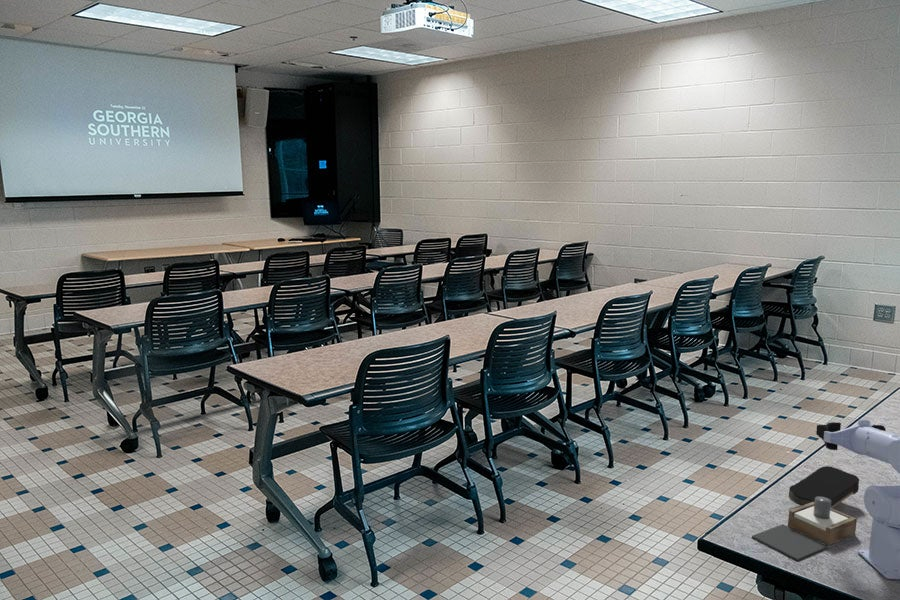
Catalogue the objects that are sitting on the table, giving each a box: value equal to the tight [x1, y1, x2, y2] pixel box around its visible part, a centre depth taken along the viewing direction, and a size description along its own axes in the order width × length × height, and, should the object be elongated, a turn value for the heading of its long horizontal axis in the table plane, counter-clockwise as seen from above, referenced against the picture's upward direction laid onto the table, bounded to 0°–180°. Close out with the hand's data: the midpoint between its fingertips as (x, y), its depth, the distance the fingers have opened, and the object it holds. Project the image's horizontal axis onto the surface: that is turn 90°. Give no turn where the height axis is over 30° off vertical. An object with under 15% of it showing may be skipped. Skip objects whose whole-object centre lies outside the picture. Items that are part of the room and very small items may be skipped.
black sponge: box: [788, 465, 860, 509], centre depth 154 cm, size 16×8×4 cm, turn 123°
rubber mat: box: [751, 523, 830, 562], centre depth 138 cm, size 10×10×1 cm
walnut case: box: [787, 502, 858, 546], centre depth 143 cm, size 9×9×4 cm
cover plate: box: [794, 497, 849, 531], centre depth 142 cm, size 8×7×4 cm
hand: (835, 430), depth 147 cm, fingers open, 7 cm apart
